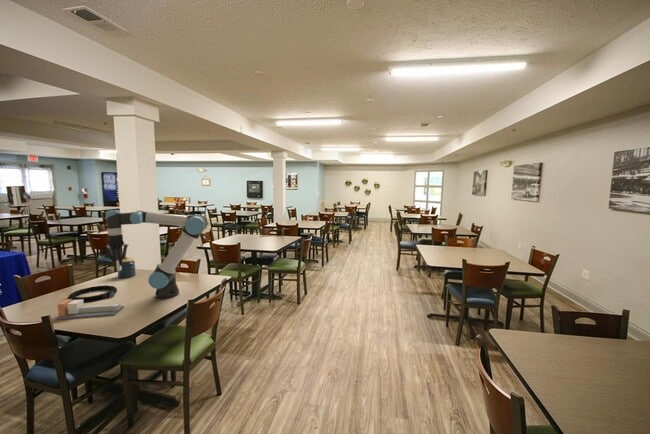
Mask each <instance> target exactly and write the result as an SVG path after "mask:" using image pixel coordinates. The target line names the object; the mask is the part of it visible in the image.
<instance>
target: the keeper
mask: <svg viewBox="0 0 650 434" xmlns="http://www.w3.org/2000/svg"><path fill="white" fill-rule="evenodd" d="M84 303H85V302H84V301H83V299H82V300H73V301H71V302H70V303H68V304H67V309H68V314H78V313H80V312H79V307H84Z"/></svg>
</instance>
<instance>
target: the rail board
mask: <svg viewBox="0 0 650 434" xmlns="http://www.w3.org/2000/svg"><path fill="white" fill-rule="evenodd" d="M71 301H72V299H68V298H67V299H65V300H63V301H61V302H59V303H58V304H57V312H58V315H57V317H56V320H58V321H59V320H70V319H85V318H98V317H110V316H111V317H113V316H115V315H117V314H118V313H119V312H120V311H122V310H123V309H124V308H125V306H124V305H122V304H121V303H115V304H104V305H103V304H102V305H89V306H83V307H79V312H80V313H78V314H68V309H67V304H68V303H70V302H71Z"/></svg>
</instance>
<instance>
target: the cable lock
mask: <svg viewBox="0 0 650 434" xmlns="http://www.w3.org/2000/svg"><path fill="white" fill-rule="evenodd" d="M97 291H107V292H104V293H101V294H96V295H90V296H81V295H83V294H88V293H91V292H97ZM117 291H118V289H117V287H116V286H114V285H96V286H89V287H84V288H81V289H79V290H75V291H74V292H71V293H69V295H68V296H67V299H72V301H73V300H82V299H83V301H84V303H89V302H96V301H100V300H105V299H112V298H114V297H115V293H117Z"/></svg>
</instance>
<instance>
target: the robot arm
mask: <svg viewBox="0 0 650 434" xmlns="http://www.w3.org/2000/svg"><path fill="white" fill-rule="evenodd" d="M105 221H106V222H105V223H106V231H107V237H108V238H107V239H108V240H107V241H108V244H107V245H105V246H104V249H105V250H106V252H107V254H108V257H109V259H110V261H113V262H114V267H116V271H117V272H118V271H121V270H122V269H121V265H122V264H123V263H122V260H123V259H125V257H126V256H127V250H128V246H129V244H128V243H125V242H124V236H123V228H122V227H123V225H138V224H139V225H140V224H142V223H147V224H158V225H167V226H178V227H183V228H182V229H181V234H180V237H179V238H178V239H177V241H176V242H175V244H173V247H171V249H170V251H169V253H168V254H167V256H166V257H165V258H164V260H163V262H162V263H157V264H156V268H155V269H154V270H153V272H152V273H150V274H149V277H148V284H149V286H150V287H151V288H153V289H156V290H155V294H154V296H155V299H170V298H174V297H176V296H178V295H180V289H179V286H178V284H177V277H176V275H177V274H176V268H177V267H178V265H179V263H180V262H181V260H182V259H183V257H184V256H185V255H186V253H187V251H188V250H189V249H190V247H191V245H192V244H193V243H194V241H195V240H198V239H199V238H200V237H201V235H202V234H203V232H204V231H205V230H206V229H207V228H208V227H207V226H208V224H209V223H208V219H207V217H205V215H201V214H187V215H180V214H172V213H162V212H161V213H160V212H153V211H143V210H136V211H131V212H121V211H120V210H118V209H115V210H114V209H113V210H107V211H105ZM111 249H112V250H111Z"/></svg>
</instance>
